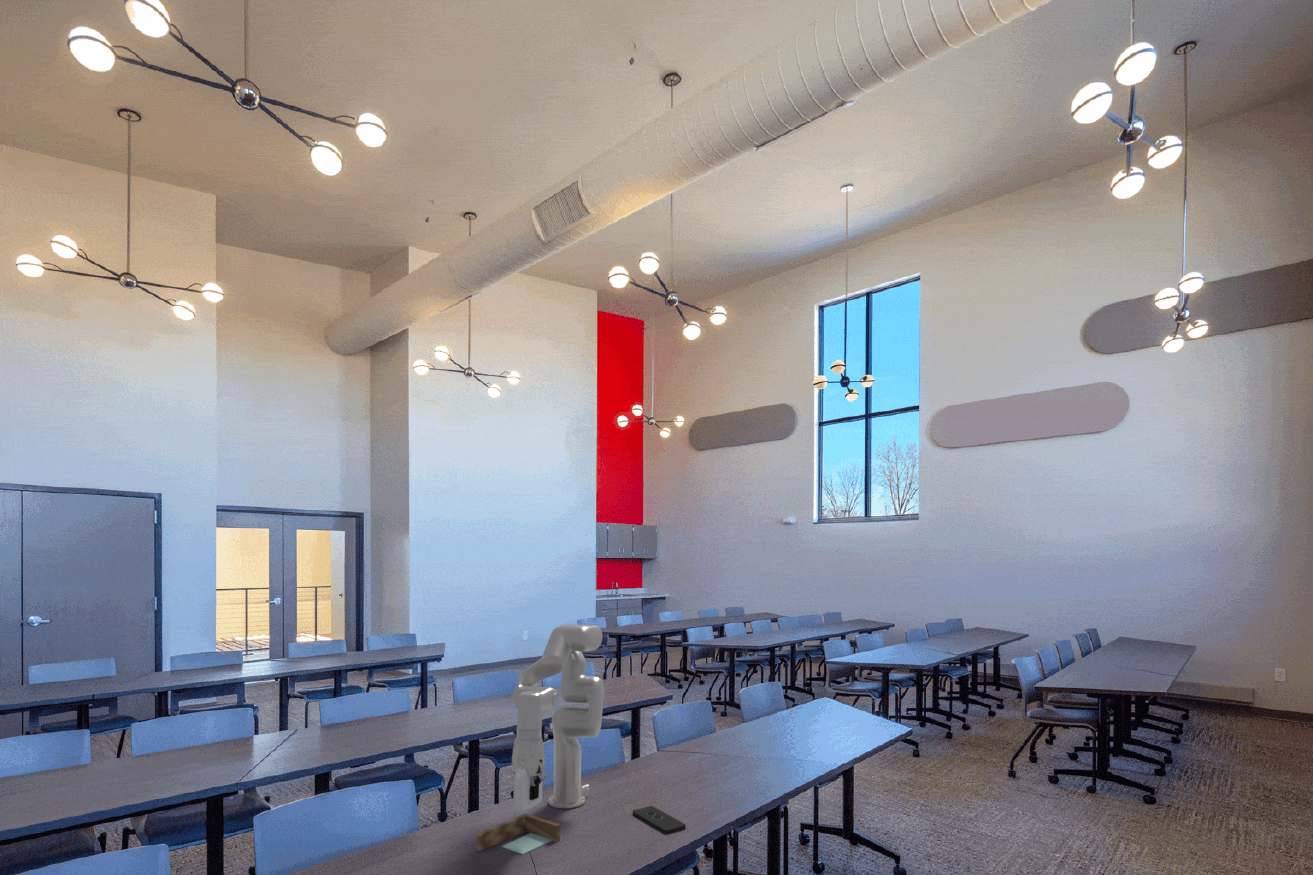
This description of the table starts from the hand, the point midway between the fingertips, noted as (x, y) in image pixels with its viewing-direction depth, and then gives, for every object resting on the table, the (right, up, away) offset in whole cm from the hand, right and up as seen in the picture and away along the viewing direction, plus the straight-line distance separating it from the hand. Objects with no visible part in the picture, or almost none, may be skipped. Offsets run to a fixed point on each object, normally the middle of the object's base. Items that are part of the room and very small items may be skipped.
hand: (528, 796), depth 216 cm
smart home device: (+40, -16, +15) cm, 45 cm away
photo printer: (0, -3, -1) cm, 3 cm away
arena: (-2, -13, -3) cm, 14 cm away
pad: (0, -13, -2) cm, 14 cm away
